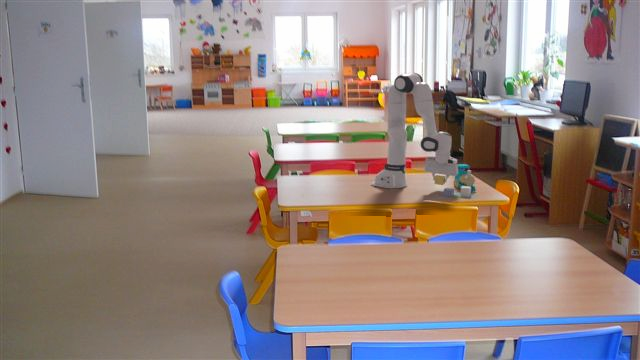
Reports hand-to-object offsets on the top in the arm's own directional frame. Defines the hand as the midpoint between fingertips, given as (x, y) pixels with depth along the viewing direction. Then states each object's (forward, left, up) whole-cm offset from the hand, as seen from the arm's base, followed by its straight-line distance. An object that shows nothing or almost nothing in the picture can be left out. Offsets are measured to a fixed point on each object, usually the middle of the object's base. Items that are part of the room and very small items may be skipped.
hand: (439, 181), depth 402 cm
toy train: (+13, +13, -7) cm, 20 cm away
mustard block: (0, 0, -2) cm, 2 cm away
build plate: (+17, -7, -7) cm, 20 cm away
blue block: (+8, -11, -7) cm, 15 cm away
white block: (+17, -7, -6) cm, 19 cm away
